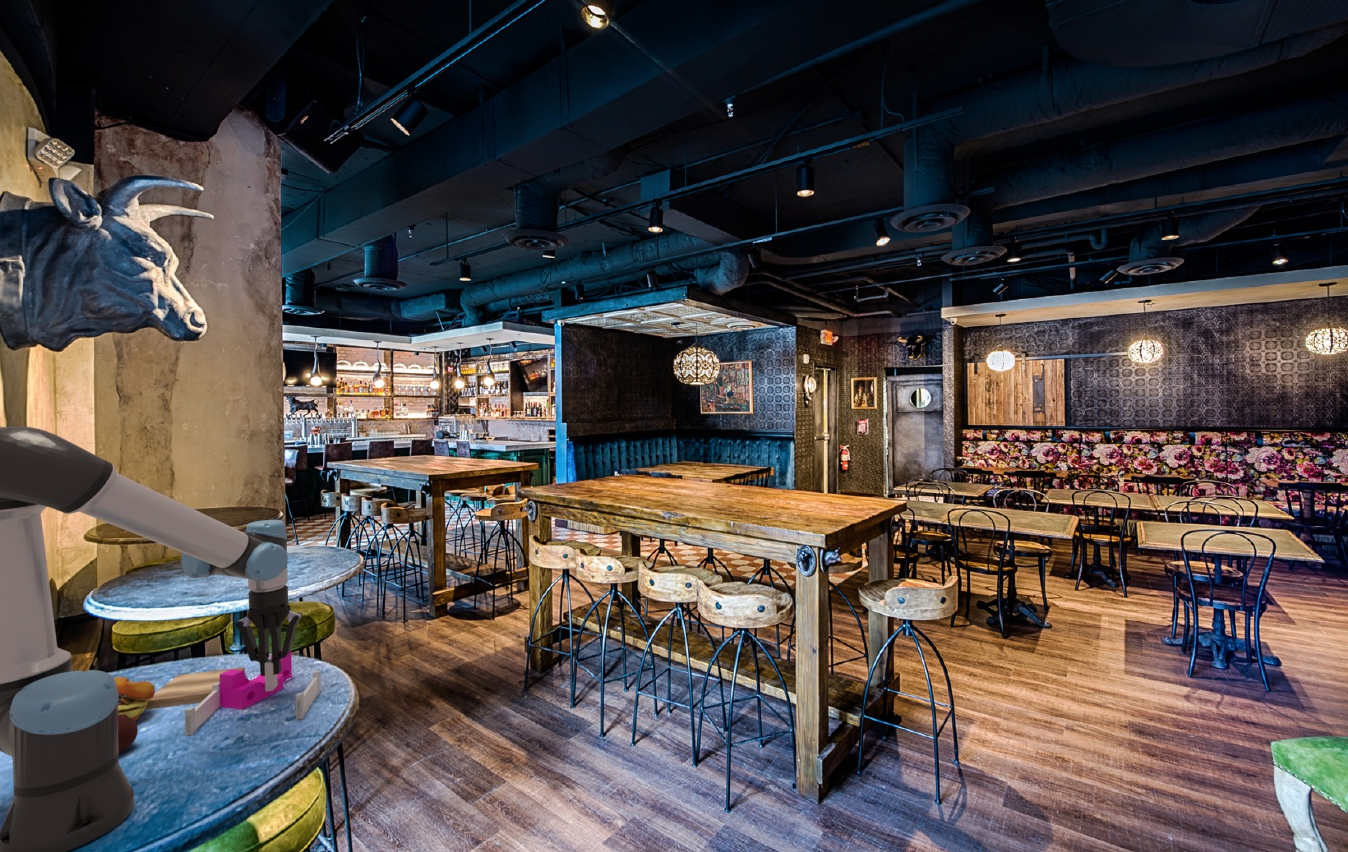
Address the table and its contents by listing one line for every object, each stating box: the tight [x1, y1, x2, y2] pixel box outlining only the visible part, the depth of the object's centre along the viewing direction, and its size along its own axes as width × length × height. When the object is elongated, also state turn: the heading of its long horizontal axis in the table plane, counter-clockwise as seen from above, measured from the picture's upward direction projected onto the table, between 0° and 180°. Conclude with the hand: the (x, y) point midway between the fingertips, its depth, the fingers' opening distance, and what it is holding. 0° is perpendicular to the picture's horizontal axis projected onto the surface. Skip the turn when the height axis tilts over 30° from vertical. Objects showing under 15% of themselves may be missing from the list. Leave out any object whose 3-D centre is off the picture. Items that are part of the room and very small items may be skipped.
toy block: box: [219, 650, 293, 710], centre depth 136 cm, size 15×6×8 cm, turn 167°
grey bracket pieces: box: [184, 669, 322, 737], centre depth 127 cm, size 13×21×5 cm, turn 107°
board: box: [145, 666, 246, 710], centre depth 138 cm, size 14×14×2 cm
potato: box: [118, 715, 139, 754], centre depth 112 cm, size 7×8×7 cm
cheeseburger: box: [113, 676, 156, 722], centre depth 123 cm, size 10×11×10 cm
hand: (271, 688), depth 134 cm, fingers closed
